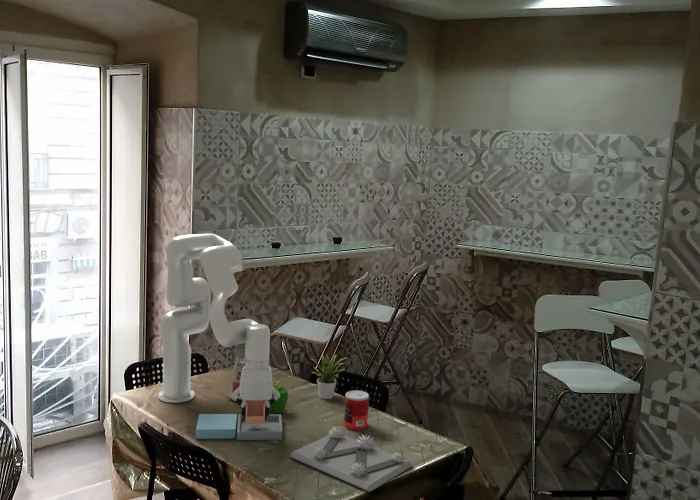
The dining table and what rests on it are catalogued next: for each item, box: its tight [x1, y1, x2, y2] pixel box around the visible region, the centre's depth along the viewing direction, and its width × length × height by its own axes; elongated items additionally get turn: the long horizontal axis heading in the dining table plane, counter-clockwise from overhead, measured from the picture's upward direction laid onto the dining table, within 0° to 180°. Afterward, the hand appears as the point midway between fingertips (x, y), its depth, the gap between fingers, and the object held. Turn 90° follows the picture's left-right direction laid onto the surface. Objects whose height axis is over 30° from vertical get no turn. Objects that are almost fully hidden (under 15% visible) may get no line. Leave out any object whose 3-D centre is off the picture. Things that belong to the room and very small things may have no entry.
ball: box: [252, 424, 262, 429], centre depth 214 cm, size 3×3×3 cm
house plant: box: [309, 352, 347, 400], centre depth 245 cm, size 14×14×16 cm
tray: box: [236, 413, 283, 441], centre depth 215 cm, size 14×14×2 cm
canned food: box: [343, 390, 370, 432], centre depth 221 cm, size 8×8×11 cm
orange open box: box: [245, 400, 265, 424], centre depth 214 cm, size 6×6×6 cm
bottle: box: [229, 343, 246, 402], centre depth 239 cm, size 9×9×28 cm
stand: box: [195, 413, 238, 440], centre depth 213 cm, size 12×12×3 cm
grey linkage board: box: [290, 426, 413, 493], centre depth 196 cm, size 30×22×7 cm
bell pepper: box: [269, 380, 289, 414], centre depth 231 cm, size 8×8×10 cm
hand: (255, 417), depth 214 cm, fingers closed on orange open box, 6 cm apart
